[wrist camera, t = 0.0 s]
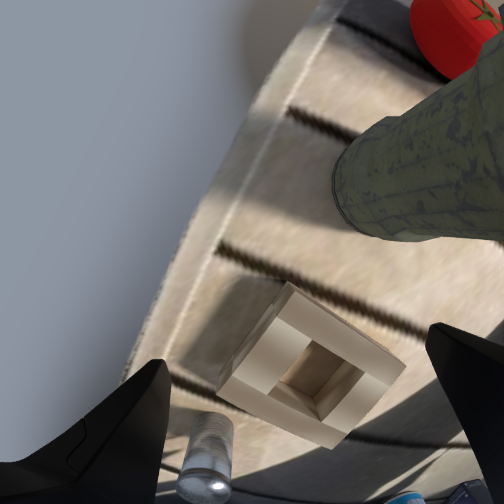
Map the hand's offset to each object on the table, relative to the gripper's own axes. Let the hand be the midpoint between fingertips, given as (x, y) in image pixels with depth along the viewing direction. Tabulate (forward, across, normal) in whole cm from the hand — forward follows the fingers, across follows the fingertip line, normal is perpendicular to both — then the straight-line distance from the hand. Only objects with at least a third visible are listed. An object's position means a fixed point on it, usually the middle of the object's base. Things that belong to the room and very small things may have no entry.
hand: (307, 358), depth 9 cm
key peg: (+11, +7, +18) cm, 22 cm away
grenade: (+17, -10, -3) cm, 20 cm away
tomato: (+21, -22, -18) cm, 35 cm away
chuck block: (+13, -3, +12) cm, 18 cm away
